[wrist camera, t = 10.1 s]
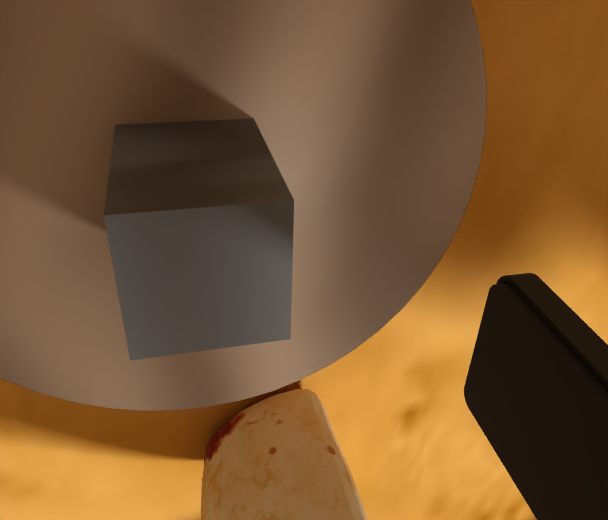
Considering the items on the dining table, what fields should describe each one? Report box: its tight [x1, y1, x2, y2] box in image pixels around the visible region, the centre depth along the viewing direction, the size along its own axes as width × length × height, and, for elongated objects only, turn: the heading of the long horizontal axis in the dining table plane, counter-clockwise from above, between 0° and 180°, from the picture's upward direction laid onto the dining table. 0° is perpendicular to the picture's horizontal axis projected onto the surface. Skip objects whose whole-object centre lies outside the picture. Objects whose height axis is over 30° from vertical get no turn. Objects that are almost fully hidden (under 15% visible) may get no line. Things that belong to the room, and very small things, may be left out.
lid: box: [0, 0, 487, 411], centre depth 14 cm, size 18×18×6 cm
